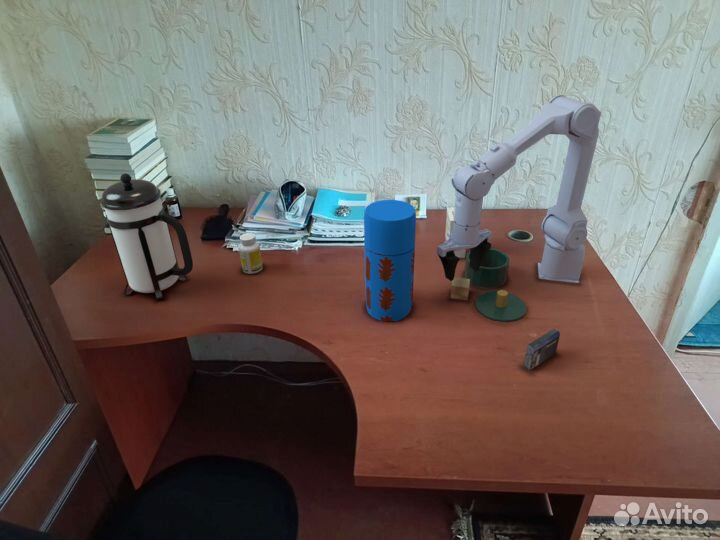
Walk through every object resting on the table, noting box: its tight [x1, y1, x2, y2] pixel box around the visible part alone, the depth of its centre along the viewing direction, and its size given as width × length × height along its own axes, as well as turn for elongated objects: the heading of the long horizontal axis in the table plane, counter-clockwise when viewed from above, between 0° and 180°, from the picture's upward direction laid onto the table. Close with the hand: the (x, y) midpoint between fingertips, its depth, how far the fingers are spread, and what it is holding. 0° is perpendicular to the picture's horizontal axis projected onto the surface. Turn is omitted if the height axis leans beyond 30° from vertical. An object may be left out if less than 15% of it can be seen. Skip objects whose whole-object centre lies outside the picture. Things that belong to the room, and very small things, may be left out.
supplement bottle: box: [238, 232, 264, 275], centre depth 129 cm, size 5×5×10 cm
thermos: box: [363, 199, 417, 322], centre depth 109 cm, size 11×11×25 cm
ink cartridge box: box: [444, 206, 467, 259], centre depth 133 cm, size 9×5×15 cm, turn 178°
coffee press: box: [99, 172, 194, 302], centre depth 118 cm, size 17×16×30 cm
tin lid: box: [474, 289, 528, 323], centre depth 113 cm, size 11×11×4 cm
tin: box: [463, 247, 510, 289], centre depth 124 cm, size 10×10×6 cm
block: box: [450, 276, 471, 301], centre depth 118 cm, size 4×4×4 cm
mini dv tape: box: [523, 328, 561, 371], centre depth 97 cm, size 8×2×6 cm, turn 126°
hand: (461, 273), depth 115 cm, fingers open, 7 cm apart
